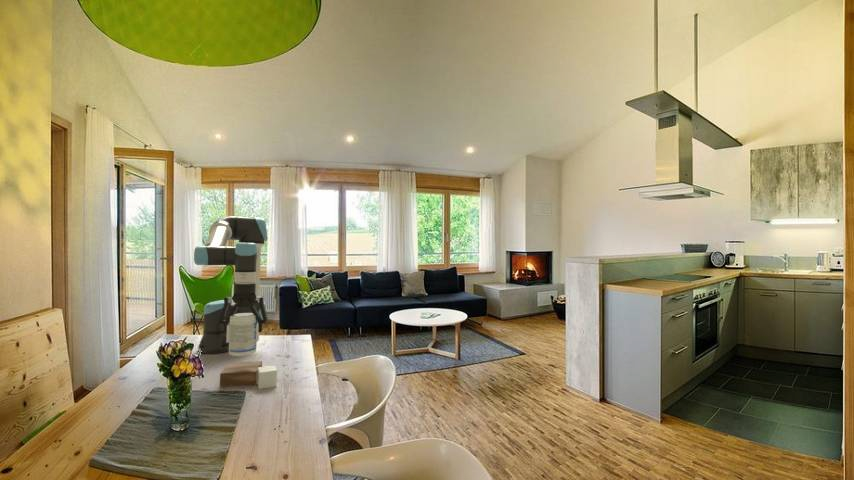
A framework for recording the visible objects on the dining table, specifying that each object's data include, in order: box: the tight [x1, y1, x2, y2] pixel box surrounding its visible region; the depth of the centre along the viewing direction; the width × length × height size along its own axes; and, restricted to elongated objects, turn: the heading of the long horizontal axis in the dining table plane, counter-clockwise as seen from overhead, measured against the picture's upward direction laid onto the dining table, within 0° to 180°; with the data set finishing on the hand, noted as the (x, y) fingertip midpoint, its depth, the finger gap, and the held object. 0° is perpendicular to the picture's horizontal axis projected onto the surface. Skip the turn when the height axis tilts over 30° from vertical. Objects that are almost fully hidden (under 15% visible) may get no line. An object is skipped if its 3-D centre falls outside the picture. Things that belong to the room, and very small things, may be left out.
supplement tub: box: [228, 313, 258, 357], centre depth 142 cm, size 10×10×15 cm
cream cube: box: [256, 365, 278, 390], centre depth 139 cm, size 6×6×6 cm
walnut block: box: [219, 361, 263, 388], centre depth 142 cm, size 12×12×5 cm
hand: (243, 341), depth 142 cm, fingers closed on supplement tub, 9 cm apart
